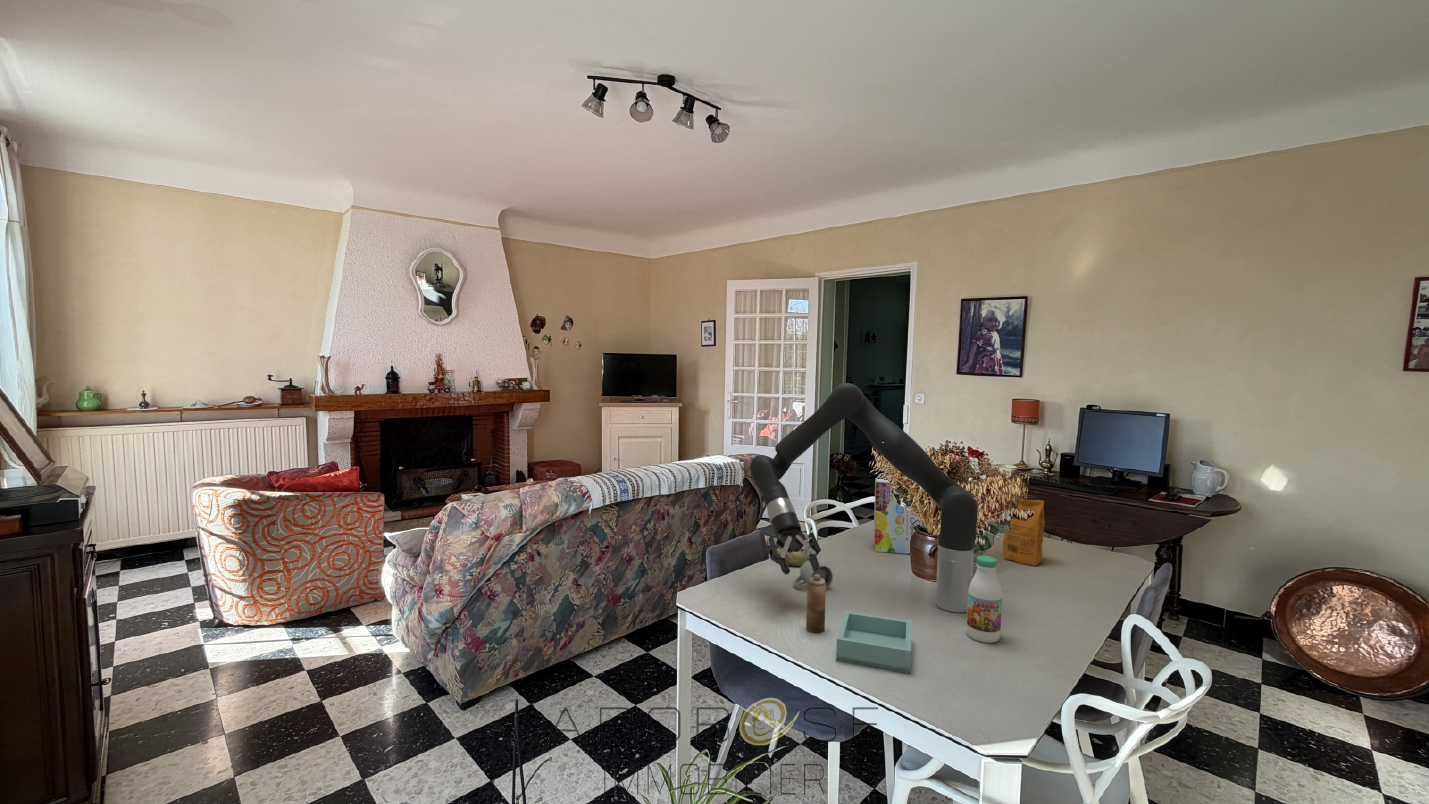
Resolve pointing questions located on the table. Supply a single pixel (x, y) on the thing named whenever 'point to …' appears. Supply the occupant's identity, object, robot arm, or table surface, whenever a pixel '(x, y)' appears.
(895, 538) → the snack box
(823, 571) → the ceramic mug
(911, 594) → the table surface
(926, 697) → the table surface
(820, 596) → the pepper mill
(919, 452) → the robot arm
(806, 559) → the pastry
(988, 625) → the milk bottle
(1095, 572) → the table surface
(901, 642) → the bin
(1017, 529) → the coffee package
